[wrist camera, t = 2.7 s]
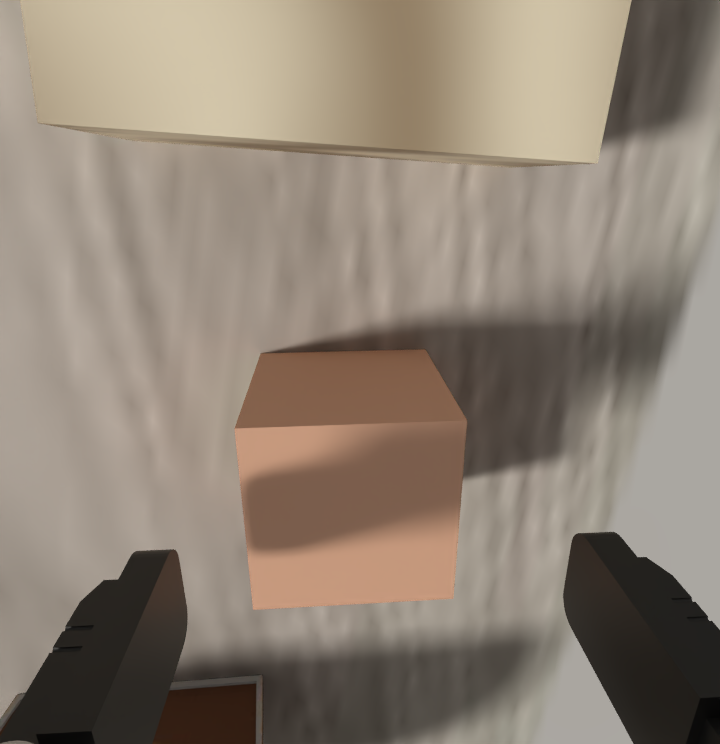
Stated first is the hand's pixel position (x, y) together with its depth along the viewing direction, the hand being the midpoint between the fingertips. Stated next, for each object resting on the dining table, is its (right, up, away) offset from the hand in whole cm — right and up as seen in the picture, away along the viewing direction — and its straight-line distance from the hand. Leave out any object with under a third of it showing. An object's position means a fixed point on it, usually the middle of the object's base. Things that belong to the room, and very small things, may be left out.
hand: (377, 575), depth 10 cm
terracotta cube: (-1, +2, +6) cm, 7 cm away
